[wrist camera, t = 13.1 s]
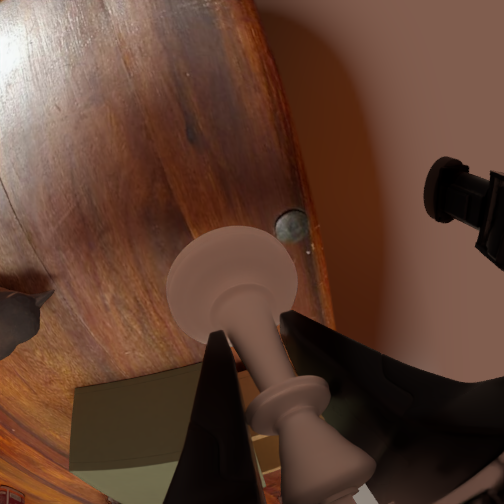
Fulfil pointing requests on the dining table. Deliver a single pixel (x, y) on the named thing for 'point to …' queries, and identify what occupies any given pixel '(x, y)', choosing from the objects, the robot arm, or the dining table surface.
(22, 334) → the decorative bird
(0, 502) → the pill bottle
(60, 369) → the dining table surface
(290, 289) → the chess piece
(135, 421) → the cabinet
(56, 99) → the dining table surface
